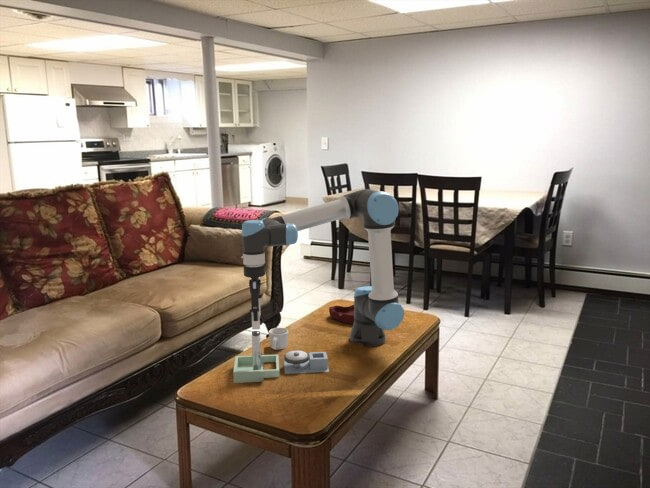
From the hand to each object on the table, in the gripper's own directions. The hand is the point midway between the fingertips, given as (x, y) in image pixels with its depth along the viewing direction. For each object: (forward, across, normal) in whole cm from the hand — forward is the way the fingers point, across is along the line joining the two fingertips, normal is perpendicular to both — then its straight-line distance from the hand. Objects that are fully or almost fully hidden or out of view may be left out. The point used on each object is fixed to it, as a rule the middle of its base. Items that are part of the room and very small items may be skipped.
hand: (256, 322), depth 193 cm
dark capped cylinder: (+18, 0, -1) cm, 19 cm away
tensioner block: (+20, -1, +17) cm, 26 cm away
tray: (+20, 0, -1) cm, 20 cm away
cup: (+20, -20, +7) cm, 29 cm away
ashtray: (+21, -54, +42) cm, 71 cm away
